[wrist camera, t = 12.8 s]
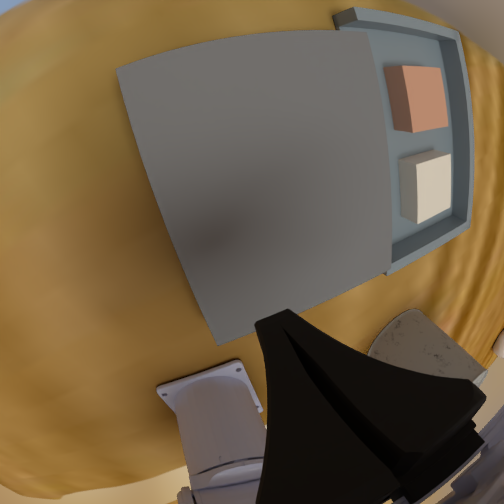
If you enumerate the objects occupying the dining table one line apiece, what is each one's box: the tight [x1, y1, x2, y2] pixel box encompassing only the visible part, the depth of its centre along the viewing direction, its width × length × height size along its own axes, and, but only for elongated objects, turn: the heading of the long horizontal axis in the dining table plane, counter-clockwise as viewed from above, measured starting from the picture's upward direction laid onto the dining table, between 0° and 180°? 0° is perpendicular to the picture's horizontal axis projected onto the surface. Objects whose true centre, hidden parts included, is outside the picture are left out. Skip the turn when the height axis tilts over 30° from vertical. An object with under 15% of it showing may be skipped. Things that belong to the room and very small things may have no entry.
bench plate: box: [116, 30, 392, 346], centre depth 16 cm, size 17×14×3 cm
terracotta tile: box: [383, 66, 448, 133], centre depth 17 cm, size 5×5×2 cm
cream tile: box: [398, 149, 451, 224], centre depth 20 cm, size 5×5×2 cm
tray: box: [333, 7, 474, 276], centre depth 18 cm, size 20×13×2 cm, turn 13°
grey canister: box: [367, 309, 488, 388], centre depth 26 cm, size 10×10×12 cm
